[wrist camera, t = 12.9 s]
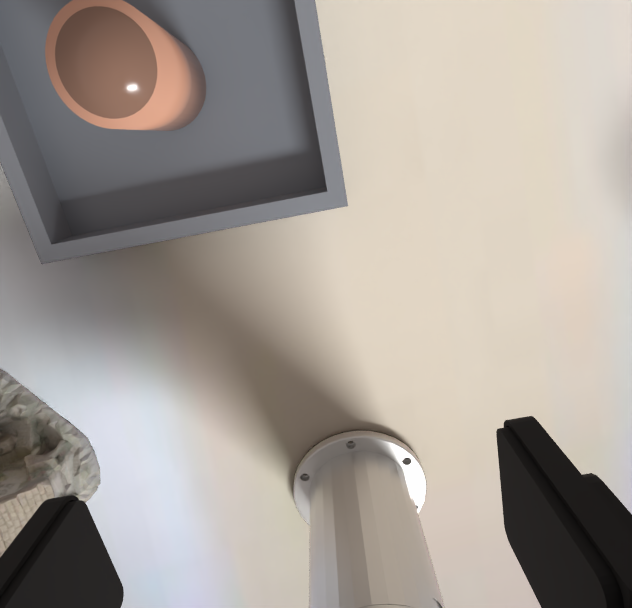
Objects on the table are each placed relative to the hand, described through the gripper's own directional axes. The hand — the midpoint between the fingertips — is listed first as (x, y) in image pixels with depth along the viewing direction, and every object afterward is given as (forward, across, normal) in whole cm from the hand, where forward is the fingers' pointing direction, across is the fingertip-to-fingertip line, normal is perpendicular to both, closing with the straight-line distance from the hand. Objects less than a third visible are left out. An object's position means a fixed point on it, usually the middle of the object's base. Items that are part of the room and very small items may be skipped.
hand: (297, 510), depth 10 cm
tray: (+27, +8, -14) cm, 31 cm away
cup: (+26, +8, -14) cm, 31 cm away
